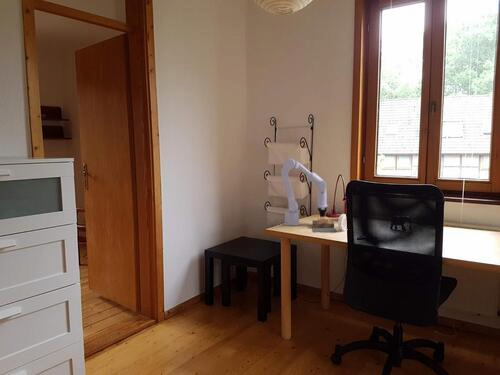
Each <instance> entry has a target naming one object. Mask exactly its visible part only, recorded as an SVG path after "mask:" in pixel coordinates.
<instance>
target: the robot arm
mask: <svg viewBox="0 0 500 375" xmlns="http://www.w3.org/2000/svg"><path fill="white" fill-rule="evenodd" d="M293 168H294V169H296V170H299V171H301V173H303V174H304V175H305V176H306V177H307V179H308V180H309V182H311V183H313V185H315V186H317V210H318V213H319V217H326V211H327V207H329V204H328V203H327V202H328V201H327V199H328V198H327V187H328V183H327V182H326V181H325V180H324V179H323V177H320V176H319V175H318V173H316V172H311V171H310V170H308V168H307V167H305V166H304V165H302V164H301V163H300V162H299V161H297V160H295V159H294V158H291V157H290V158H287V159H286V160H285V161H284V162H283V166H282V168H281V171H280V175H281V178H282V182H283V186H284V190H285V193H286V197H287V202H288V205H287V206H288V210H287V211H284V226H285V227H286V226H289V227H290V226H300V224H301V223H300V212H299V211H300V210H298V209H299V205H298V201H296V198H295V195H294V191H293V187H292V184H291V179H290V176H289V173H290V172H291V170H292V169H293Z"/></svg>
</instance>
